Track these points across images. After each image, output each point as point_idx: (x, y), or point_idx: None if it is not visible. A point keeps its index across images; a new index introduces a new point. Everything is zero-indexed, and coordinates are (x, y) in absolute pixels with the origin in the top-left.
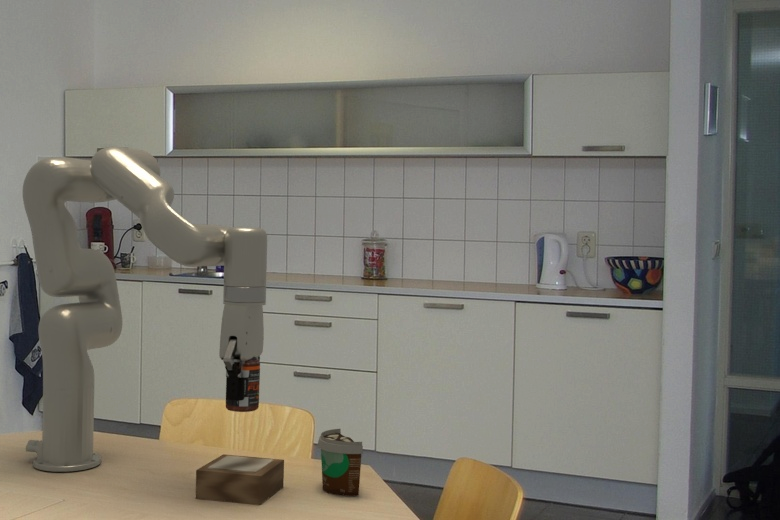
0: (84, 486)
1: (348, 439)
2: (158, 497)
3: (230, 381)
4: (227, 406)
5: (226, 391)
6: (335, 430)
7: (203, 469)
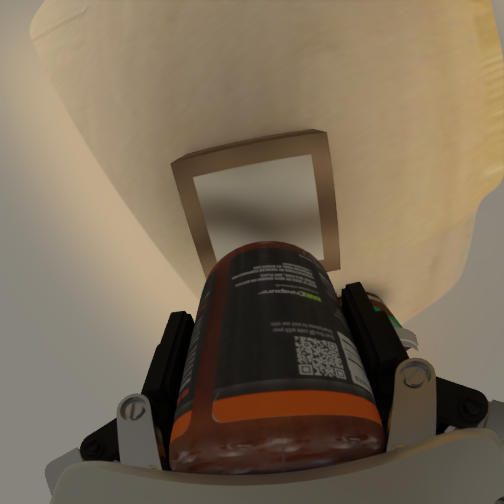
0: None
1: None
2: (157, 97)
3: (145, 391)
4: (208, 277)
5: (164, 333)
6: (412, 346)
7: (183, 173)
